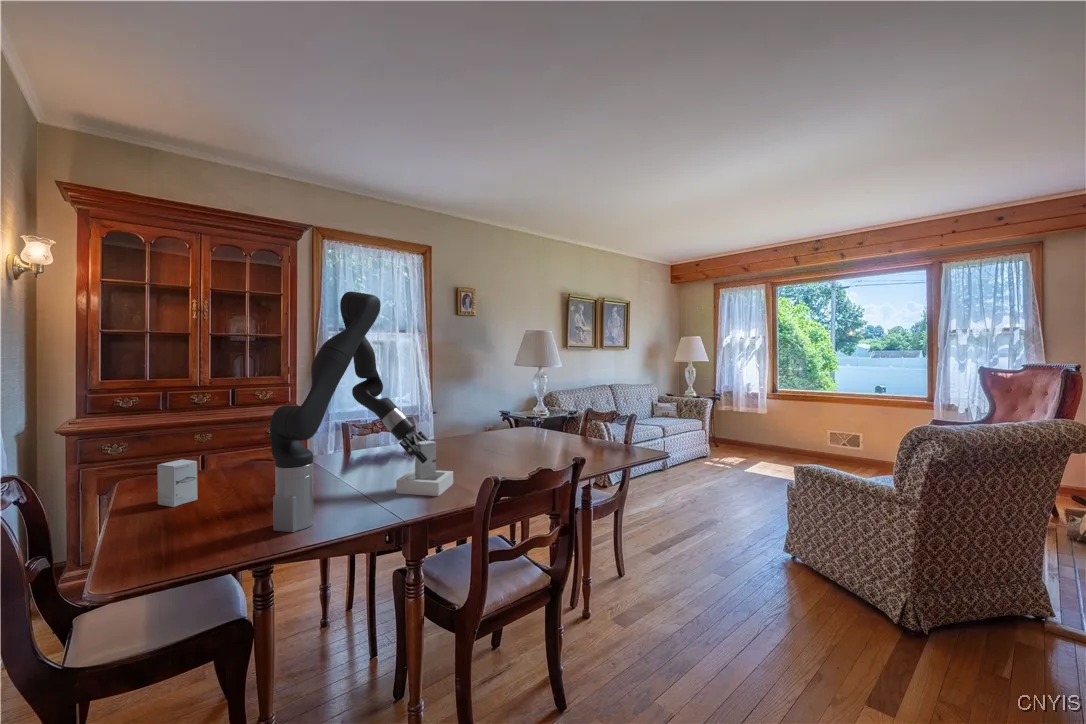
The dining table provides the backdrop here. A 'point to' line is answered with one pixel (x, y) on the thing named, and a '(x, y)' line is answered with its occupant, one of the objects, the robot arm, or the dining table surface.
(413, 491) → the well holder
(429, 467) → the skincare box
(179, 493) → the supplement box
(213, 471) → the dining table surface
